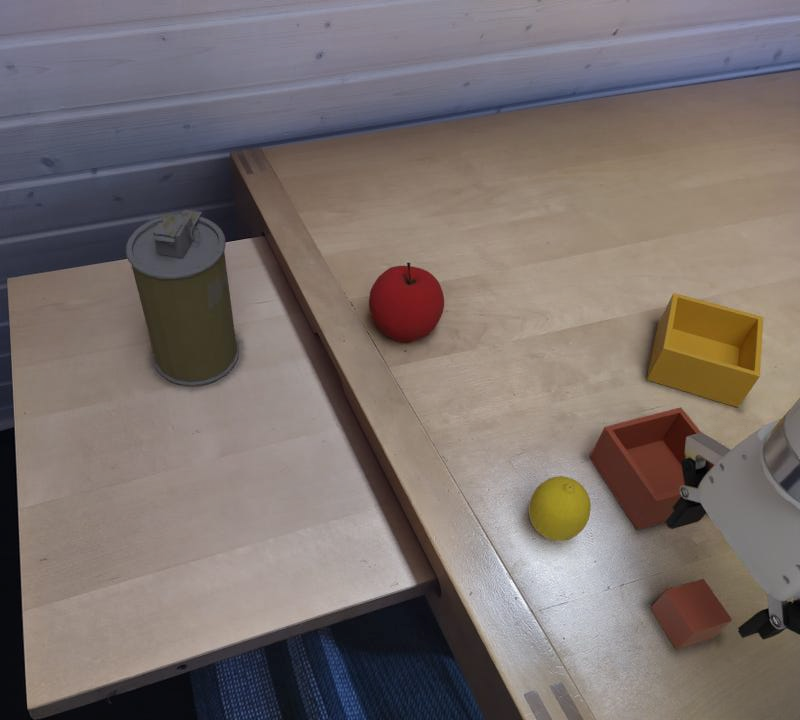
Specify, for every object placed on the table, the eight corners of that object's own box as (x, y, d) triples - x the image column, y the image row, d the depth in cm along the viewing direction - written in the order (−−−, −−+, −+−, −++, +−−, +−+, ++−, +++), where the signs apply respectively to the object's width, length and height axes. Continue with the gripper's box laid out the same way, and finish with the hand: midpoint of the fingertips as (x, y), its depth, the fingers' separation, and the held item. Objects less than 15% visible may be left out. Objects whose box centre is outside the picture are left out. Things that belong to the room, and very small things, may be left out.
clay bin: (714, 507, 73) (738, 478, 69) (636, 530, 72) (656, 501, 68) (662, 437, 79) (681, 406, 75) (589, 457, 78) (604, 426, 73)
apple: (355, 338, 90) (358, 279, 82) (383, 294, 95) (388, 235, 88) (424, 362, 87) (434, 303, 79) (449, 316, 92) (460, 256, 85)
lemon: (520, 547, 70) (538, 506, 64) (523, 500, 74) (540, 456, 68) (577, 560, 70) (601, 519, 64) (577, 511, 73) (600, 468, 67)
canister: (223, 393, 84) (202, 263, 69) (140, 378, 85) (103, 247, 70) (250, 329, 91) (237, 198, 76) (173, 316, 92) (145, 185, 77)
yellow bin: (737, 407, 82) (760, 376, 78) (646, 379, 85) (663, 348, 81) (742, 349, 88) (763, 316, 84) (657, 324, 91) (673, 292, 87)
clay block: (713, 637, 65) (733, 620, 62) (675, 650, 64) (693, 633, 61) (686, 596, 67) (703, 578, 64) (649, 608, 66) (665, 590, 63)
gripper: (992, 568, 41) (829, 663, 54) (787, 353, 52) (691, 475, 65) (888, 603, 40) (746, 692, 53) (700, 374, 51) (620, 495, 64)
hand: (716, 572), depth 59 cm, fingers open, 9 cm apart
